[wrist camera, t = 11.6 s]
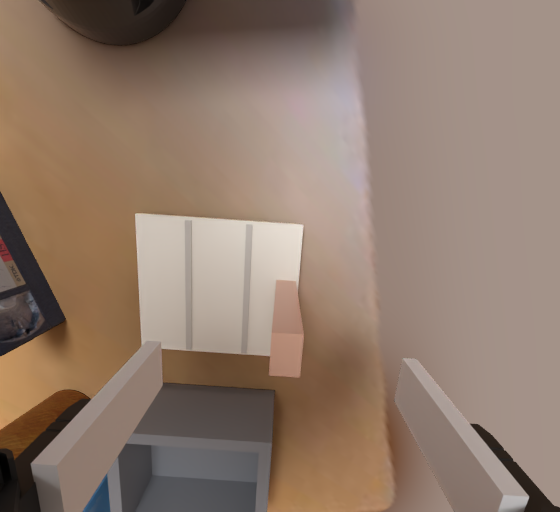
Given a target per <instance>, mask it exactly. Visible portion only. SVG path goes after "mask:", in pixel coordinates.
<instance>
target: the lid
mask: <svg viewBox="0 0 560 512" xmlns="http://www.w3.org/2000/svg"><path fill="white" fill-rule="evenodd" d="M135 221H136V242H137V262H138V283H139V303H140V323H141V344H142V345H143V344H144V343H145V342H146V341H159V342H161V349H172V350H186V351H201V352H216V353H231V354H246V355H260V356H270V365H269V376H284V377H299V378H300V372H301V361H302V351H303V340H304V331H303V325H302V318H301V312H300V305H299V299H298V283H299V272H300V260H301V248H302V236H303V224H296V223H281V222H266V221H251V220H237V219H222V218H207V217H192V216H178V215H163V214H148V213H135Z"/></svg>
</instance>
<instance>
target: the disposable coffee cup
mask: <svg viewBox="0 0 560 512" xmlns="http://www.w3.org/2000/svg"><path fill="white" fill-rule="evenodd" d="M81 399H89V398H88V397H87V396H85V395H84V394H82V393H80V392H77V391H74V390H62V391H58V392H56V393H54V394H53V395H52V396H50V397H49V398H47V399H46V400H44V401H43V402H41V403H40V404H38V405H37V406H35V407H34V408H32V409H31V410H29V411H28V412H26V413H25V414H23V415H22V416H20V417H19V418H18V419H16V420H14V421H13V422H12V423H10V424H9V425H7V426H6V427H4V428H3V429H1V430H0V449H2V448H7V449H9V450H11V451H12V452H13V456H14V460H15V459H16V458H17V457H18V456H19V455H20V454H21V453H22V452H23V451H24V450H25V449H26V448H27V447H28V446H29V445H30V444H31V443H32V442H33V441H34V440H35V439H36V438H37V437H38V436H39V435H40V434H41V433H42V432H43V431H45V430H46V428H47V427H48V426H49V425H50V424H51V423H52V422H55V420H56V418H58V417H59V416H60V415H61V414H62V413H63V412H64V411H65V410H66V409H67V408H68V407H69V406H71V405H73V404H74V403H76V402H77V401H79V400H81Z"/></svg>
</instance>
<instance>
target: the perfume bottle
mask: <svg viewBox="0 0 560 512" xmlns="http://www.w3.org/2000/svg"><path fill="white" fill-rule="evenodd" d="M82 512H110V500H109V489H108V477H107V474H106V475H105V477H104V478H103V480H102V482H101V483H100V485H99V486H98V488H97V489H96V491H95V493H94V494H93V496H92V497H91V499H90V500H89V502H88V504H87V505H86V507H85V508H84V510H83V511H82Z"/></svg>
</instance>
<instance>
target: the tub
mask: <svg viewBox="0 0 560 512" xmlns="http://www.w3.org/2000/svg"><path fill="white" fill-rule="evenodd" d="M274 392H275V390H262V389H247V388H233V387H218V386H204V385H189V384H175V383H163V386H162V387H161V389H160V391H159V392H158V394H157V395H156V397H155V398H154V400H153V402H152V403H151V405H150V406H149V408H148V409H147V411H146V413H145V414H144V416H143V417H142V419H141V420H140V422H139V424H138V425H137V427H136V428H135V430H134V431H133V433H132V435H131V436H130V438H129V439H128V441H127V442H126V444H125V445H124V447H123V449H122V450H121V452H120V453H119V455H118V456H117V458H116V460H115V461H114V463H113V464H112V466H111V467H110V469H109V471H108V472H107V477H108V489H109V500H110V512H267V505H268V491H269V478H270V465H271V451H272V435H273V414H274Z"/></svg>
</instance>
